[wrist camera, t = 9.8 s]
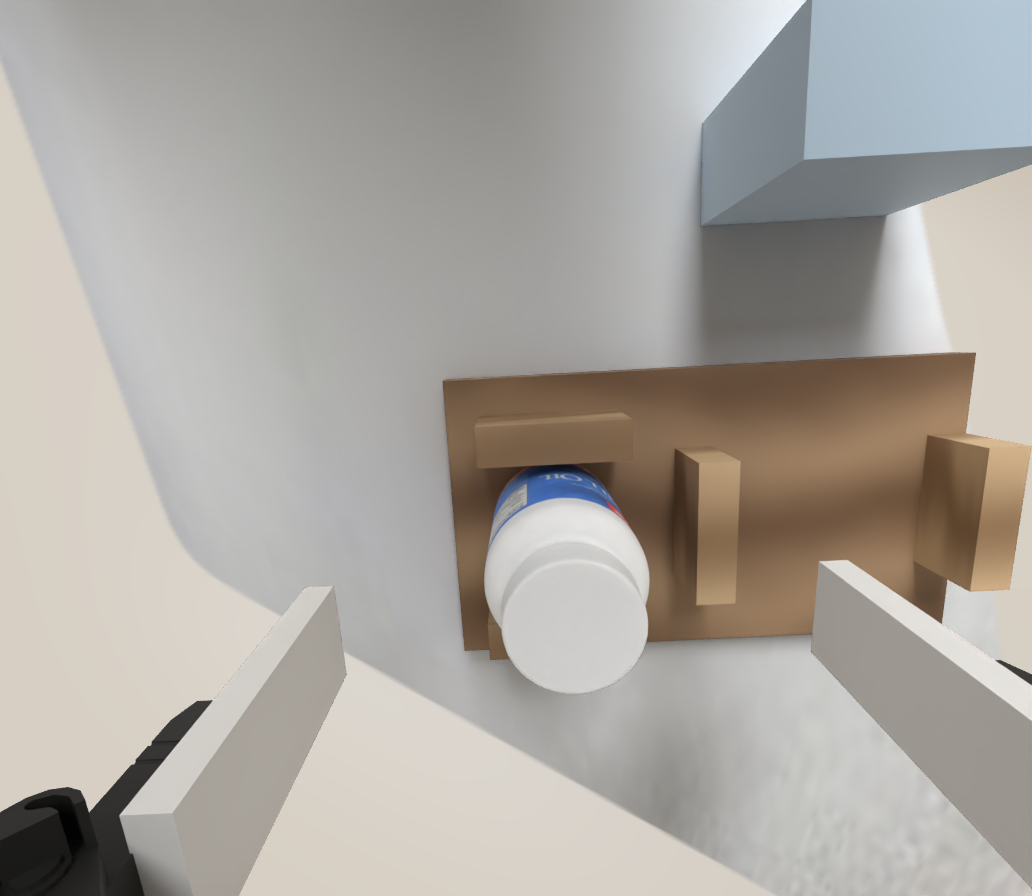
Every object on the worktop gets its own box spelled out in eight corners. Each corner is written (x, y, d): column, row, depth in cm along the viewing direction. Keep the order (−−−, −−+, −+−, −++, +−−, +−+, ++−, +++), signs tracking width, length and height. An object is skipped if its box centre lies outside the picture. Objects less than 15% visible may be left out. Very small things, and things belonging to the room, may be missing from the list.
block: (702, 124, 21) (812, -7, 13) (894, 112, 21) (1120, -27, 13) (700, 226, 22) (803, 159, 14) (885, 215, 22) (1093, 142, 14)
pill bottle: (635, 496, 23) (721, 602, 13) (571, 589, 24) (609, 753, 14) (532, 434, 22) (545, 500, 13) (471, 532, 23) (440, 662, 14)
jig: (446, 379, 23) (430, 387, 19) (952, 352, 23) (1054, 354, 19) (466, 636, 26) (457, 695, 21) (921, 614, 25) (1004, 668, 21)
